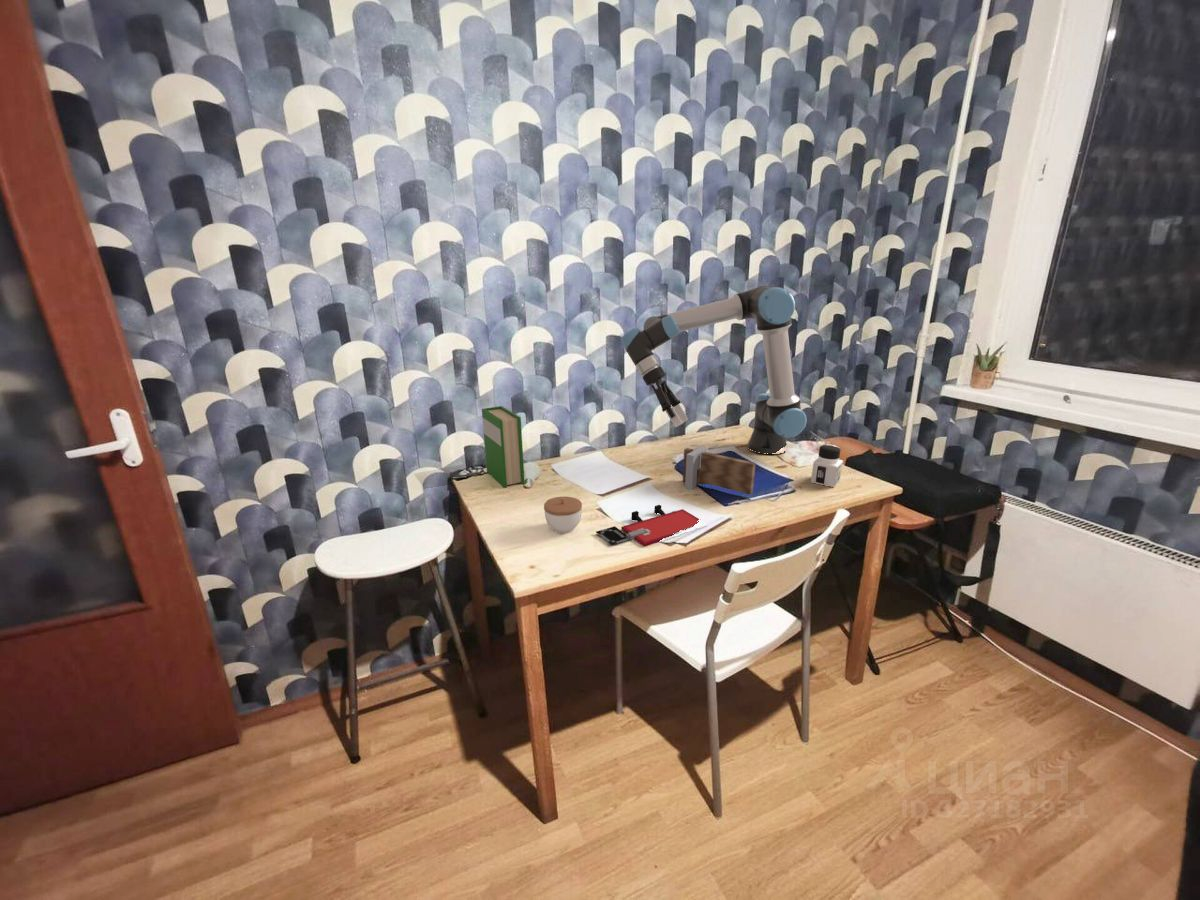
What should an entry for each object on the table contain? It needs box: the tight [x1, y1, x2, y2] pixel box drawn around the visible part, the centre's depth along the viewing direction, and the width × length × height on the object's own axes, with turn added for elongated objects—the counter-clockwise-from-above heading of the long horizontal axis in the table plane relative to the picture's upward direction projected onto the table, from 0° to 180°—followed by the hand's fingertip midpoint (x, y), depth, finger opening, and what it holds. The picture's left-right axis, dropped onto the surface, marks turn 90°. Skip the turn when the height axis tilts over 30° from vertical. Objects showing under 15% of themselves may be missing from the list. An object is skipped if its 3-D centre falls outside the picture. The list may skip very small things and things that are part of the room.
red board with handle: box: [595, 504, 700, 548], centre depth 152 cm, size 30×3×15 cm
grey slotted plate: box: [684, 446, 708, 491], centre depth 181 cm, size 2×10×12 cm, turn 142°
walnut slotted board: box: [682, 447, 756, 495], centre depth 176 cm, size 24×2×12 cm, turn 52°
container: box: [810, 444, 844, 488], centre depth 182 cm, size 8×8×13 cm
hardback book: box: [481, 405, 526, 489], centre depth 186 cm, size 18×7×24 cm, turn 31°
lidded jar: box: [543, 495, 583, 534], centre depth 152 cm, size 11×11×9 cm
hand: (682, 423), depth 184 cm, fingers open, 13 cm apart
